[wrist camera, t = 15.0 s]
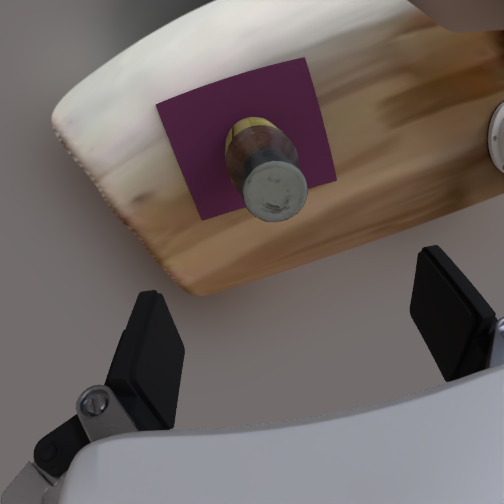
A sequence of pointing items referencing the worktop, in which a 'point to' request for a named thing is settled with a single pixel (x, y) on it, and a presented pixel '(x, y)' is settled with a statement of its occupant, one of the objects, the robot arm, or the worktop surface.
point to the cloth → (233, 110)
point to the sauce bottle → (265, 169)
